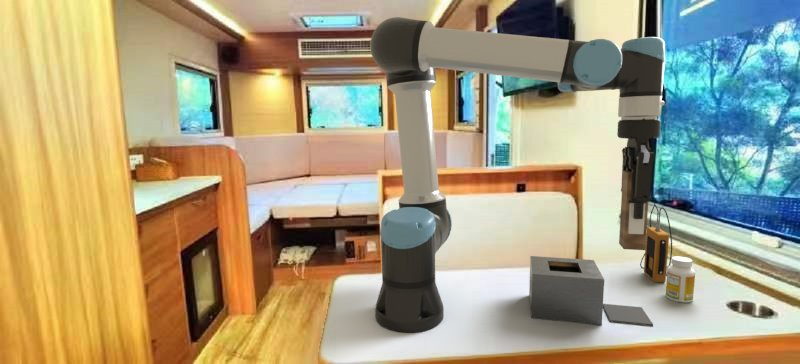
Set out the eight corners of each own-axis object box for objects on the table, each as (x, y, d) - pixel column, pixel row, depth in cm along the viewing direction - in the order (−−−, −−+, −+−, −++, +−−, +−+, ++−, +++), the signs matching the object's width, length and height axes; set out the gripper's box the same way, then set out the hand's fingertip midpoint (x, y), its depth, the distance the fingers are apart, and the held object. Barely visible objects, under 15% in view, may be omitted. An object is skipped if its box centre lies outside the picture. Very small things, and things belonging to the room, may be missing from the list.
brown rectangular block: (623, 249, 85) (627, 173, 83) (619, 243, 89) (623, 170, 87) (645, 250, 84) (650, 173, 82) (639, 244, 88) (644, 170, 86)
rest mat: (610, 321, 86) (610, 319, 86) (602, 305, 94) (602, 303, 94) (652, 326, 84) (653, 324, 84) (641, 308, 92) (641, 307, 92)
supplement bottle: (690, 295, 98) (693, 256, 97) (695, 304, 93) (698, 264, 92) (663, 292, 100) (666, 254, 99) (667, 301, 96) (670, 261, 94)
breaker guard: (531, 317, 89) (532, 273, 87) (529, 295, 100) (530, 255, 99) (601, 325, 85) (604, 279, 84) (591, 300, 97) (593, 260, 95)
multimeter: (704, 291, 101) (711, 211, 98) (659, 288, 103) (665, 210, 100) (677, 269, 115) (683, 199, 112) (638, 268, 117) (642, 199, 114)
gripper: (676, 117, 74) (666, 243, 77) (647, 118, 90) (640, 221, 93) (629, 119, 76) (622, 241, 79) (609, 118, 92) (604, 220, 95)
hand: (632, 230), depth 86 cm, fingers closed on brown rectangular block, 4 cm apart
